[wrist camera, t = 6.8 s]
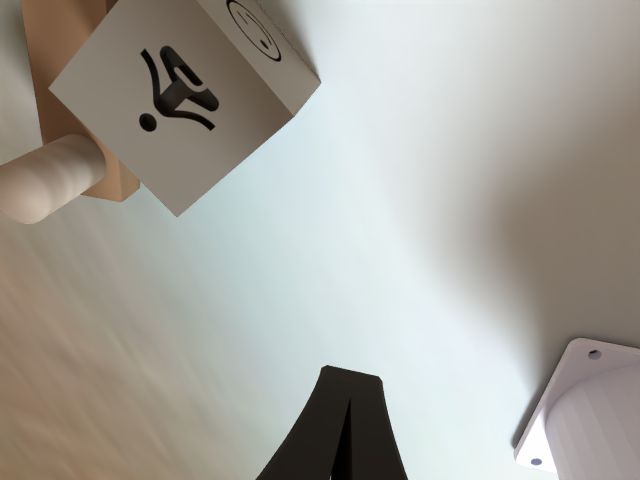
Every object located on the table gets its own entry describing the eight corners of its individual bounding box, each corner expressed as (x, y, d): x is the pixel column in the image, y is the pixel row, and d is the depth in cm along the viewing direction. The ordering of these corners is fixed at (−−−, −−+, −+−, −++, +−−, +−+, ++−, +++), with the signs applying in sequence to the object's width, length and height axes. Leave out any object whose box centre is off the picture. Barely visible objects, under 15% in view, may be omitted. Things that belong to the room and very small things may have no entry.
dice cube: (321, 82, 17) (294, 116, 13) (228, 164, 19) (176, 217, 15) (224, -40, 16) (156, -48, 11) (134, 62, 18) (48, 88, 14)
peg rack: (118, -180, 14) (-5, -249, 10) (139, 188, 20) (68, 244, 16) (24, -192, 15) (-137, -266, 10) (72, 175, 20) (-17, 228, 16)
